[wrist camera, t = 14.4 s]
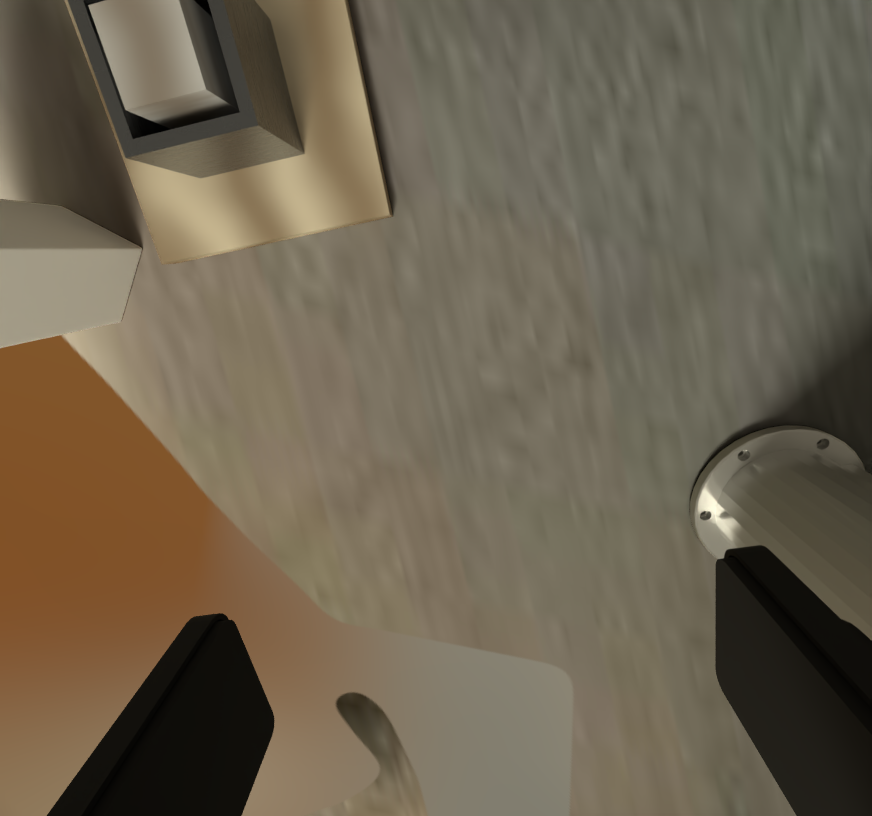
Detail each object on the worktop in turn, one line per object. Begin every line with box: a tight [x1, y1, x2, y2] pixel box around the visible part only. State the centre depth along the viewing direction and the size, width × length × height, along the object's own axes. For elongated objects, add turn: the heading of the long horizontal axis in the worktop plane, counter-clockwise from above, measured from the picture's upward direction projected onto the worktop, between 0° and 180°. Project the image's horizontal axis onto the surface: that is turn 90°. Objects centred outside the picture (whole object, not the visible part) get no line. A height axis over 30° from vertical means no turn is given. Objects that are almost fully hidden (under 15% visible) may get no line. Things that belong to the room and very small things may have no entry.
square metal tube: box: [68, 0, 305, 179], centre depth 24 cm, size 7×7×7 cm
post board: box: [65, 0, 393, 264], centre depth 25 cm, size 16×16×10 cm
